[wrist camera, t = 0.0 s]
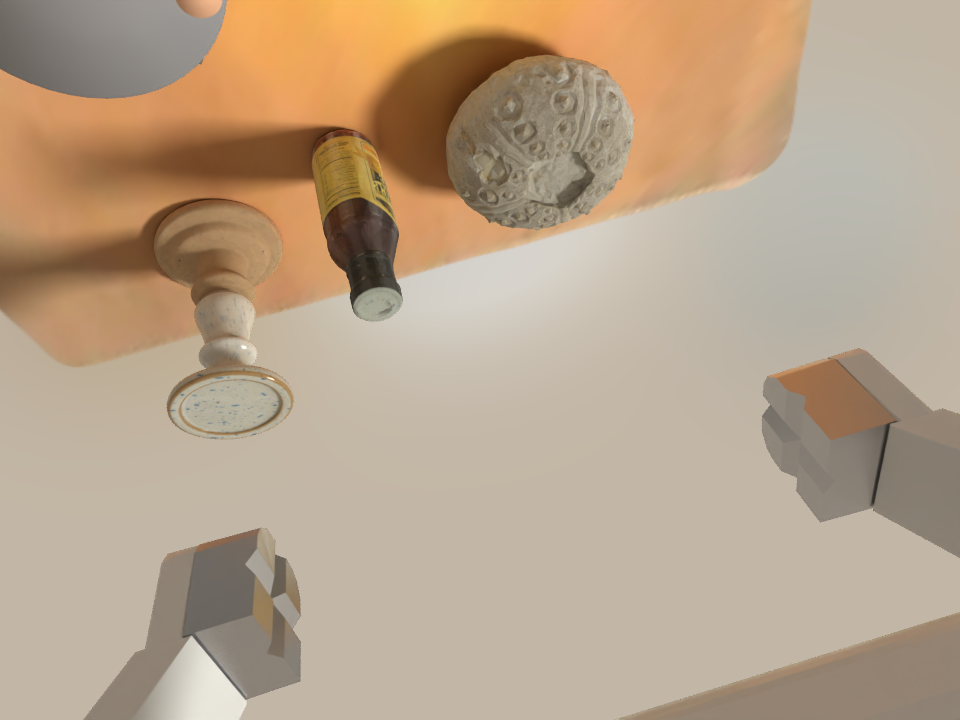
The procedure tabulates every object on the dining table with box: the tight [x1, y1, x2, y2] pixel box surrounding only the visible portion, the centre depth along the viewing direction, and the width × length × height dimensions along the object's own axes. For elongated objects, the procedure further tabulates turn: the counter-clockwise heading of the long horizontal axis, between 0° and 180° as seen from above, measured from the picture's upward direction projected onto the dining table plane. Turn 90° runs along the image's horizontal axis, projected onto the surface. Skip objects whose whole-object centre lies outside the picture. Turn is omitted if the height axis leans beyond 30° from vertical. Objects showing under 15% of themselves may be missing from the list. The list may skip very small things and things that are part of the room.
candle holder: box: [154, 200, 294, 439], centre depth 68 cm, size 12×12×20 cm
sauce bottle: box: [312, 129, 403, 321], centre depth 63 cm, size 7×6×20 cm
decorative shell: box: [446, 54, 635, 230], centre depth 68 cm, size 18×18×10 cm
